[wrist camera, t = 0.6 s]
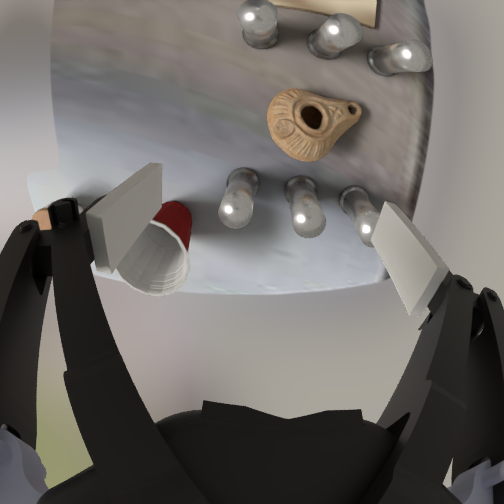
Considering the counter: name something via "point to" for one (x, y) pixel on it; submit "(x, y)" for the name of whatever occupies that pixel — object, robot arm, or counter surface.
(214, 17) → the counter surface
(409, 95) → the counter surface
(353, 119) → the pottery oil lamp
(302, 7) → the ash board
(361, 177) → the counter surface
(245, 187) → the posts
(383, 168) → the counter surface
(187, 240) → the plastic cup
